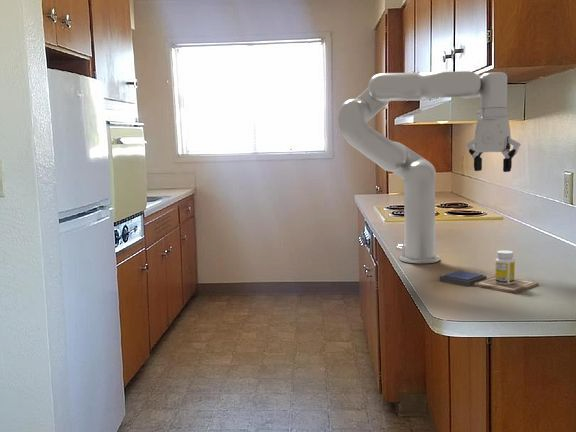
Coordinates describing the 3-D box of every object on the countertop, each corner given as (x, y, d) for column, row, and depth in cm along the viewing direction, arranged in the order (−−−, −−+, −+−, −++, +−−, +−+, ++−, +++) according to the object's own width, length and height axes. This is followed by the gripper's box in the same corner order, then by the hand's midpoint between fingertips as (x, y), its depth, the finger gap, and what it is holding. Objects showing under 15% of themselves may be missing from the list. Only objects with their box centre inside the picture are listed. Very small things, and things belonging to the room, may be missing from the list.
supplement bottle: (510, 280, 164) (510, 249, 163) (517, 284, 159) (517, 253, 158) (492, 281, 164) (493, 250, 162) (499, 285, 159) (499, 253, 158)
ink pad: (439, 280, 168) (439, 275, 168) (458, 275, 174) (458, 269, 173) (468, 286, 161) (468, 280, 161) (486, 280, 167) (486, 274, 167)
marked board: (473, 285, 162) (473, 283, 162) (496, 277, 170) (496, 275, 169) (515, 293, 153) (515, 291, 153) (538, 285, 161) (538, 282, 160)
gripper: (461, 115, 187) (460, 171, 190) (513, 113, 174) (512, 172, 177) (474, 115, 192) (473, 169, 195) (526, 113, 179) (525, 171, 182)
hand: (492, 171), depth 186 cm, fingers open, 9 cm apart
